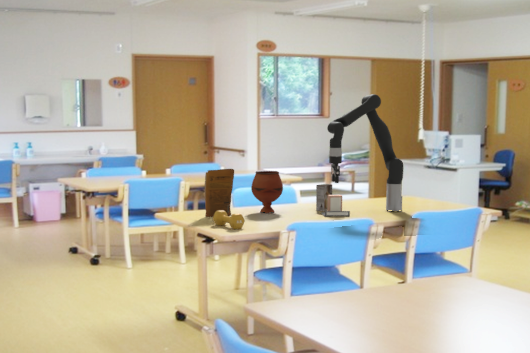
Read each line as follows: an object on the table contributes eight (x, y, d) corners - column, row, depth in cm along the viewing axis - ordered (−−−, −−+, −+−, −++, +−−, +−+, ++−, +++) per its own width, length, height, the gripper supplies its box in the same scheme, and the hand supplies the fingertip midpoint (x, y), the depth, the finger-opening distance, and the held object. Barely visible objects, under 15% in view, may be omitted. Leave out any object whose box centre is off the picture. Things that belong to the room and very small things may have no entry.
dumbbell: (211, 225, 402) (211, 210, 401) (224, 224, 408) (224, 209, 407) (232, 230, 388) (232, 215, 387) (245, 228, 393) (246, 213, 392)
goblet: (245, 212, 451) (245, 171, 448) (263, 209, 466) (264, 169, 464) (270, 215, 439) (270, 173, 437) (288, 211, 455) (289, 171, 452)
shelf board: (345, 213, 451) (345, 208, 451) (349, 216, 439) (349, 211, 439) (321, 213, 450) (321, 208, 449) (324, 216, 437) (324, 211, 437)
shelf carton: (327, 212, 448) (327, 194, 447) (340, 212, 449) (340, 194, 448) (328, 214, 443) (329, 195, 442) (342, 213, 444) (342, 195, 443)
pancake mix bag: (236, 216, 436) (236, 168, 433) (205, 218, 428) (205, 169, 425) (231, 214, 442) (232, 168, 439) (201, 216, 434) (201, 168, 431)
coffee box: (323, 208, 470) (324, 183, 468) (332, 209, 466) (332, 184, 465) (315, 210, 463) (316, 184, 461) (324, 211, 459) (324, 185, 457)
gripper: (327, 154, 449) (326, 181, 451) (331, 156, 435) (331, 183, 437) (339, 154, 450) (339, 180, 452) (344, 156, 436) (344, 183, 438)
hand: (335, 182), depth 444 cm, fingers open, 8 cm apart
